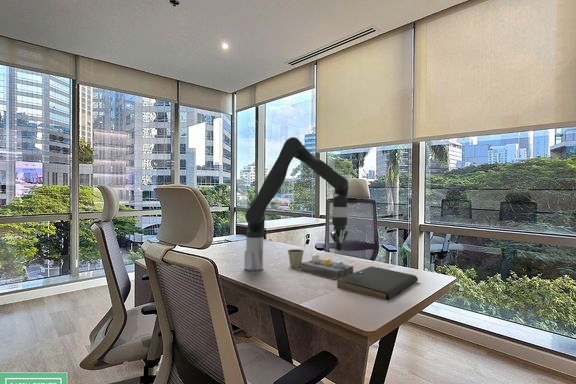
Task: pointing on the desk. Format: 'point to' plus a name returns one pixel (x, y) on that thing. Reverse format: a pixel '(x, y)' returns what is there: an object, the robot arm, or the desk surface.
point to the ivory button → (315, 258)
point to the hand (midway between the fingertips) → (339, 250)
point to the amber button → (327, 262)
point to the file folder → (377, 282)
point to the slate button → (339, 264)
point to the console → (326, 269)
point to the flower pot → (295, 257)
